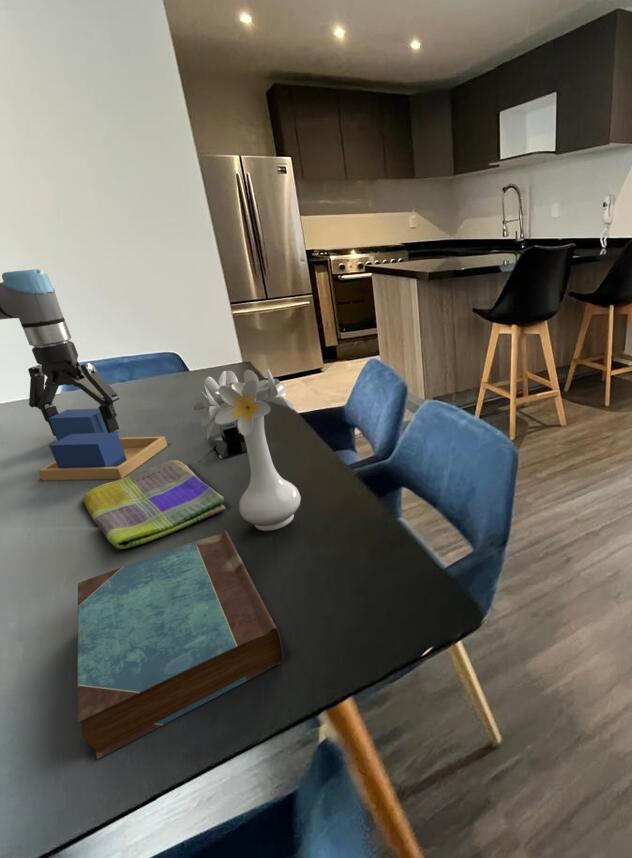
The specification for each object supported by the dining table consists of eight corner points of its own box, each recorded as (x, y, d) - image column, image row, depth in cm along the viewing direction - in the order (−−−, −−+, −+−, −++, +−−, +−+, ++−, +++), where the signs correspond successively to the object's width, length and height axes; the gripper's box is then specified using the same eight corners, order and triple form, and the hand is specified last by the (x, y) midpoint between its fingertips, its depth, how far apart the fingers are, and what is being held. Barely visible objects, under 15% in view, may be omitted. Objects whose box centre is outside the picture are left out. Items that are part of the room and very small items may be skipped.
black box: (256, 449, 106) (252, 429, 104) (221, 460, 102) (216, 439, 100) (241, 432, 115) (236, 414, 113) (208, 441, 111) (203, 422, 110)
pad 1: (59, 446, 114) (48, 418, 111) (77, 436, 119) (67, 409, 117) (99, 444, 113) (89, 416, 111) (116, 435, 118) (106, 408, 116)
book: (286, 661, 53) (277, 626, 51) (93, 762, 44) (73, 724, 42) (235, 558, 71) (227, 529, 69) (89, 615, 62) (75, 583, 60)
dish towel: (112, 559, 72) (106, 544, 71) (83, 502, 89) (77, 488, 88) (231, 510, 83) (227, 496, 82) (185, 467, 100) (181, 455, 99)
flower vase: (279, 486, 90) (250, 353, 80) (336, 522, 78) (309, 370, 68) (207, 517, 81) (164, 372, 72) (257, 563, 69) (214, 396, 60)
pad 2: (62, 477, 97) (49, 445, 95) (82, 464, 102) (71, 433, 100) (109, 476, 97) (97, 443, 94) (128, 463, 102) (117, 432, 99)
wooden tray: (43, 483, 97) (37, 470, 96) (98, 449, 111) (94, 438, 110) (122, 481, 96) (118, 468, 94) (168, 447, 109) (164, 436, 108)
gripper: (117, 336, 110) (146, 423, 118) (14, 343, 112) (50, 428, 120) (92, 344, 103) (125, 436, 111) (-17, 351, 105) (24, 441, 113)
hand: (86, 432), depth 115 cm, fingers open, 13 cm apart
